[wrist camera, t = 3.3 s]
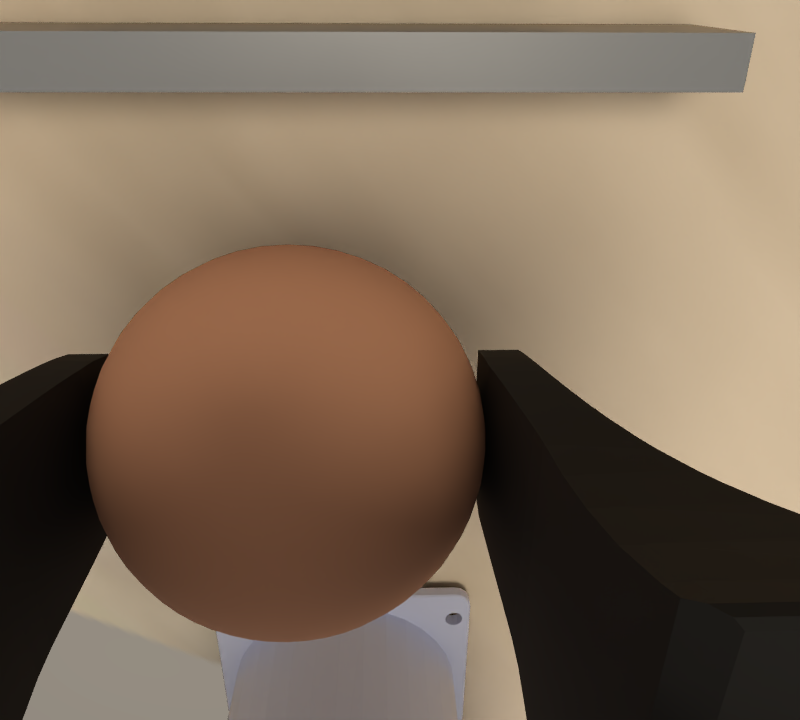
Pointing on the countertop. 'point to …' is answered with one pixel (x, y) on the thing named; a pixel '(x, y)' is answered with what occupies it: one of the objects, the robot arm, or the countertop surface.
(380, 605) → the ball
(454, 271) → the countertop surface
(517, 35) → the low fence
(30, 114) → the countertop surface
